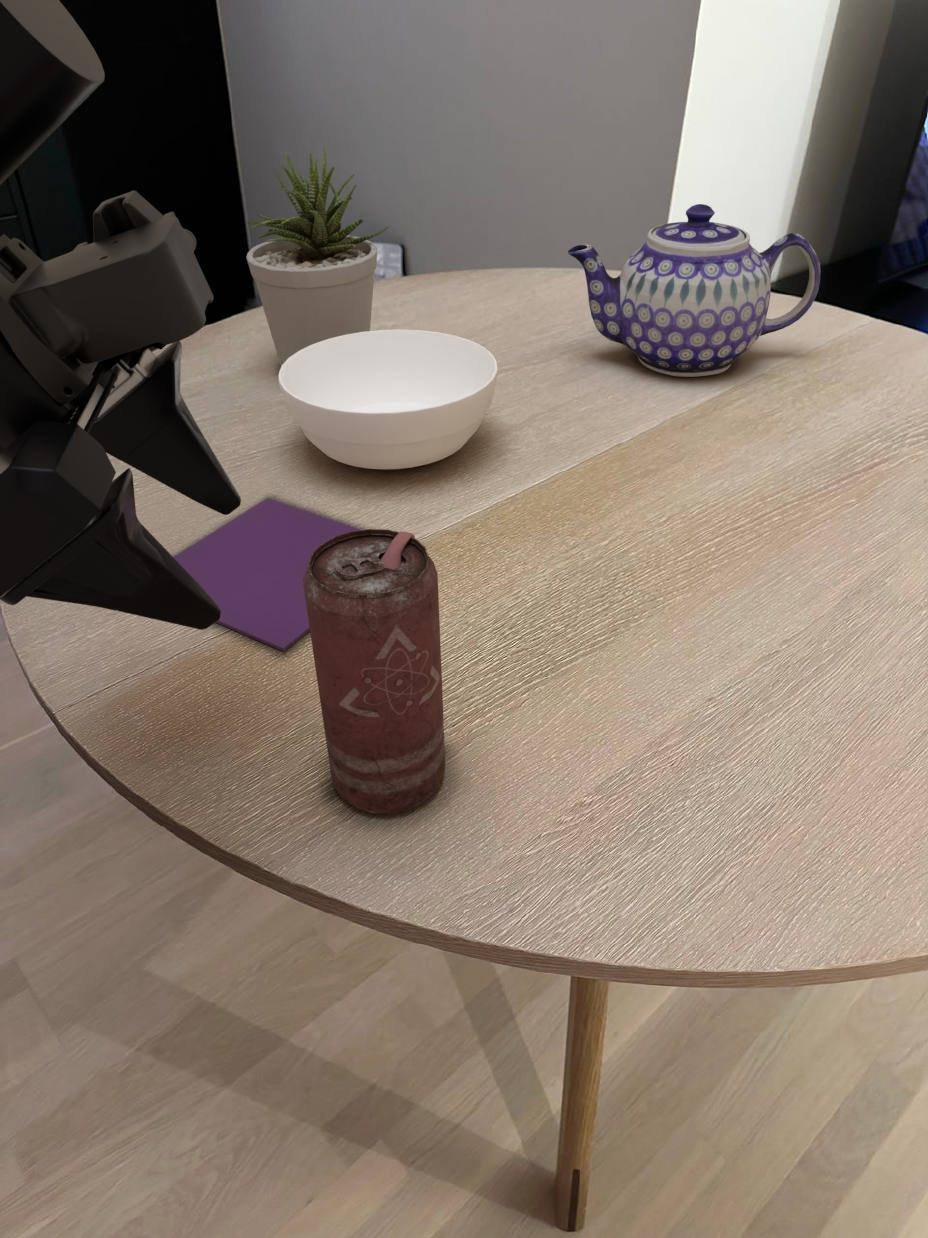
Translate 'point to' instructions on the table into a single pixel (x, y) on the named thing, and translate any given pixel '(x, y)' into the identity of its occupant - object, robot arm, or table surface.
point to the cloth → (261, 569)
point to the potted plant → (313, 268)
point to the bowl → (389, 395)
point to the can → (378, 667)
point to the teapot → (692, 294)
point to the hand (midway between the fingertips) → (225, 560)
